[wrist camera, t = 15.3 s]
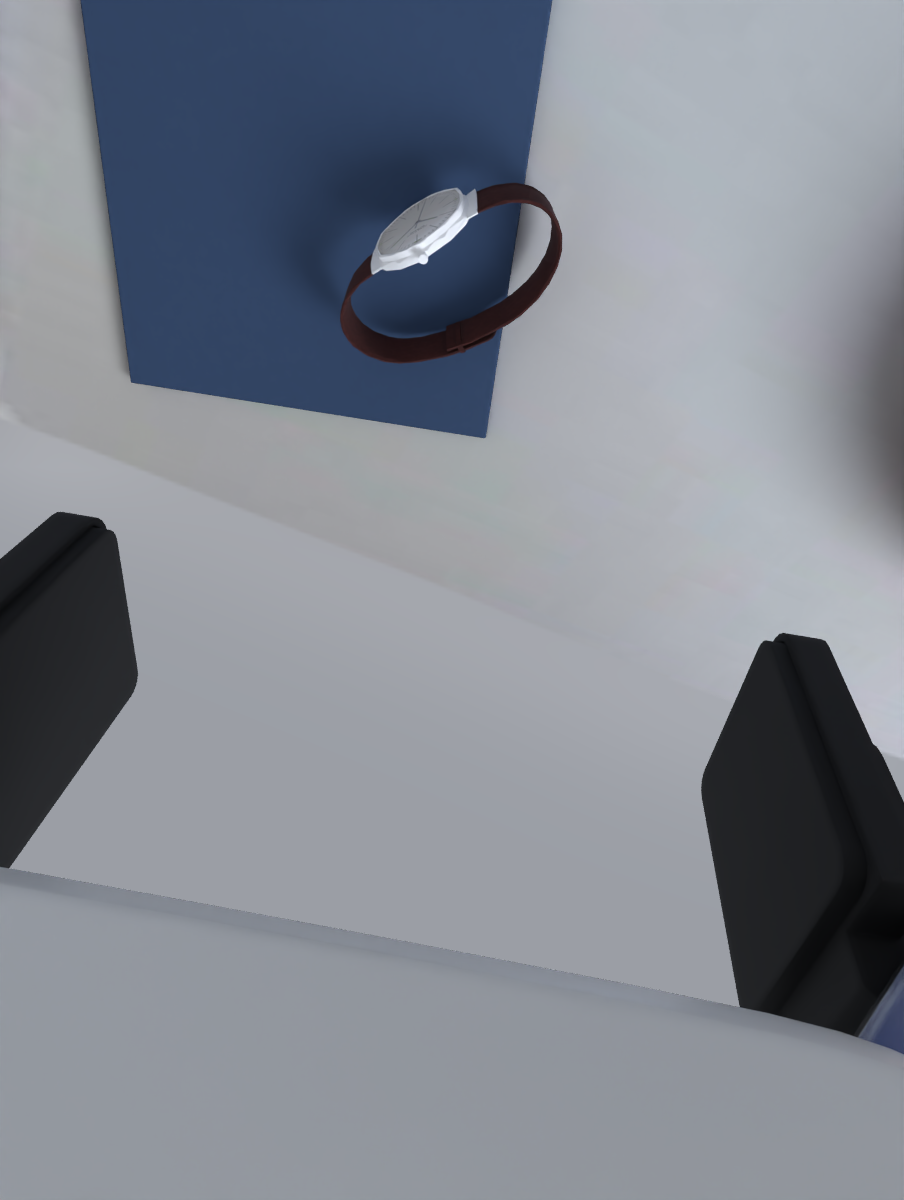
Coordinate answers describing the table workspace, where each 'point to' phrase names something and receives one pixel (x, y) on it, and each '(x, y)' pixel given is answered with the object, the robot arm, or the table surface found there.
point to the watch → (413, 244)
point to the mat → (310, 190)
